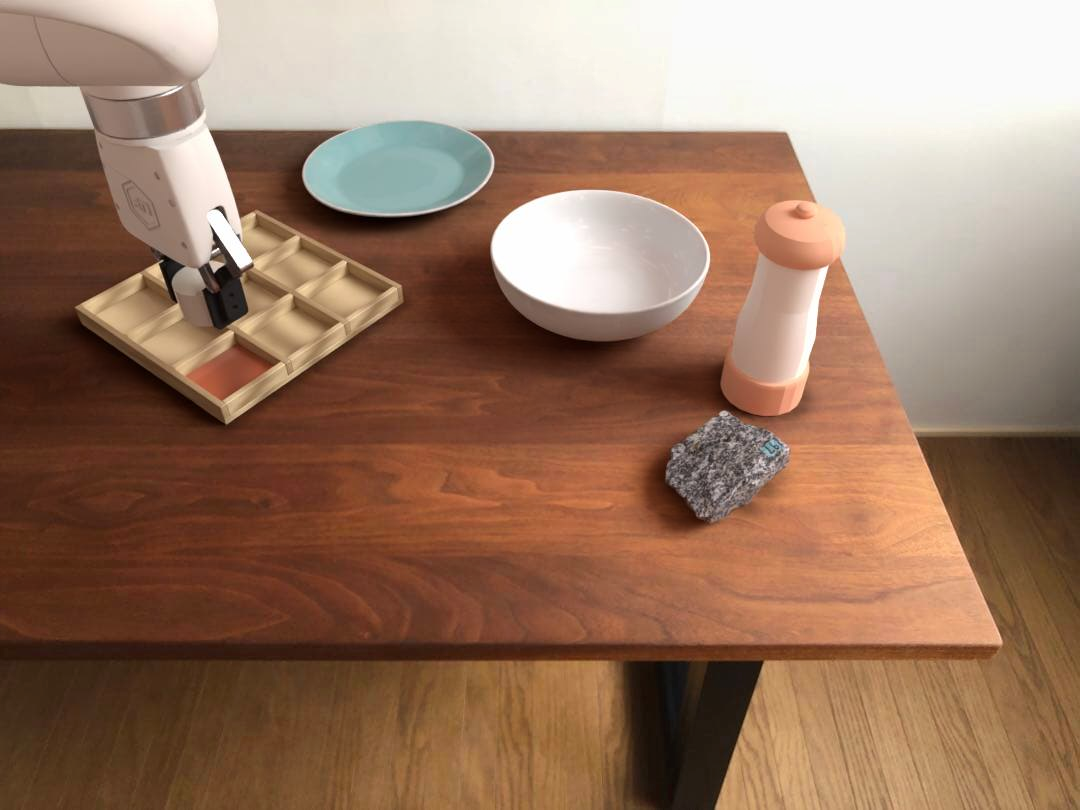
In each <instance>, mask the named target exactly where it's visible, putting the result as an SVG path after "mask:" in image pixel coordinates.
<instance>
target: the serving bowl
mask: <svg viewBox="0 0 1080 810" xmlns="http://www.w3.org/2000/svg"><path fill="white" fill-rule="evenodd" d="M489 248H490V250H489V252H490V259H491V264H492V269H493V272H494V273H493V274H494V275H495V279H496V281H497V283H498V286H499V288H500V290H501V291H502V294H503V295H504V296H505V298H506V299H507V301H508V302H509V303H510V304H511V306H513V308H515V310H517V312H518V313H520V314H521V316H524V317H525V318H526V319H527V320H529V321H530V322H532V323H534V324H535V325H537V326H539V327H541V328H543V329H545V330H547V331H549V332H552V333H554V334H557V335H560V336H563V337H568V338H570V339H575V340H581V341H589V342H617V341H624V340H631V339H635V338H639V337H642V336H644V335H648V334H651V333H653V332H655V331H658V330H659V329H661V328H663V327H665V326H666V325H667V326H668V325H669V324H670V323H671V322H673V321H674V320H676V319H677V318H679V316H680V315H682V314H683V313H684V312H686V310H687V309H688V308H689V307H690V306H691V304H692V303H693V302H694V300H695V299H696V298H697V296H698V295H699V292H700V291H701V289H702V286H703V285H704V282H705V279H706V277H707V274H708V272H709V268H710V265H711V253H710V248H709V244H708V242H707V240H706V238H705V236H704V235H703V233H702V232H701V231H700V230H699V228H698V227H697V226H696V225H695V224H694V223H693V222H692V221H691V220H689V218H687V217H685V216H684V215H683V214H682V213H680V212H679V211H677V210H675V209H673V208H671V207H670V206H667V205H665V204H663V203H661V202H659V201H656V200H654V199H652V198H648V197H644V196H641V195H636V194H633V193H628V192H623V191H617V190H616V191H615V190H606V189H605V190H604V189H577V190H575V189H574V190H567V191H561V192H556V193H552V194H548V195H547V194H546V195H543V196H541V197H538V198H535V199H532V200H530V201H528V202H525V203H523V204H522V205H520V206H518V207H516V208H515V209H514V210H512V211H511V212H510V213H508V214H507V215H506V216H504V218H503V219H502V220H501V221H500V222H499V224H498V225H497V226H496V228H495V229H494V231H493V234H492V236H491V239H490V246H489Z"/></svg>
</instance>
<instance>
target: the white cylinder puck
mask: <svg viewBox="0 0 1080 810" xmlns="http://www.w3.org/2000/svg"><path fill="white" fill-rule="evenodd" d="M209 264H210V266H211V268H212V270H213V272H214V273H215V272H216V271H217V269H218V268H220V267H222V266H223V265H225V264H224V263H221V262H216V261H209ZM172 287H173V290H174V293H175V296H176V299H177V301H178V304H179V307H180V310H181V313H182V316H183V318H184V319H185V321H187V322H188V323H190V324H192V325H195V326H200V327H209V326H213V323H212V320H211V317H210V314H209V311H208V308H207V305H206V301H205V298H204V295H203V292H202V290H203V289H204V288H206V285H205V283H204V281H203V279H202V277H201V275H200V273H199V270H198V269H194V268H190V267H187V266H186V267H184V268H182V269H181V270H179V271H178V272H177V273H176V274H175V275H174V277H173V279H172Z"/></svg>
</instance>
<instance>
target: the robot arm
mask: <svg viewBox="0 0 1080 810" xmlns="http://www.w3.org/2000/svg"><path fill="white" fill-rule="evenodd" d="M219 29H220V28H219V16H218V12H217V6H216V3H215V0H0V84H1V85H5V86H15V87H28V88H29V87H43V88H44V87H48V88H49V87H50V88H51V87H55V88H57V87H58V88H59V87H61V88H62V87H63V88H65V87H66V88H67V87H69V88H70V87H71V88H74V87H75V88H77V87H79V91H80V93H81V96H82V98H83V101H84V105H85V107H86V110H87V113H88V116H89V117H90V121H91V123H92V126H93V131H94V135H95V141H96V145H97V149H98V154H99V158H100V162H101V165H102V168H103V172H104V175H105V179H106V181H107V185H108V188H109V191H110V194H111V197H112V200H113V204H114V206H115V209H116V212H117V215H118V219H119V220H120V223H121V225H122V226H123V228H124V229H125V230H126V231H128V233H130V234H131V235H132V236H134V237H135V238H136V239H138V240H139V241H141V242H143V243H144V244H146V245H148V246H150V251H151V253H152V256H153V257H154V258H155V259H156V260H157V261H158V262H160V261H162V260H163V262H161V263H159V266H160V269H161V272H162V275H163V278H164V280H165V283H166V286H167V289H168V292H169V295H170V298H171V300H172V301H174V302H176V303H178V301H177V299H176V296H175V293H174V290H173V287H172V279H173V277H174V275H175V274H176V273H177V272H178V271H179V270H181V269H182V268H184V267H186V266H187V267H190V268H194V269H198V270H199V273H200V275H201V277H202V279H203V281H204V283H205V285H206V288H204V289H203V290H202V292H203V295H204V298H205V301H206V305H207V308H208V311H209V314H210V317H211V320H212V323H213V326H214V327H215V328H217V329H218V330H222V329H223V328H225V327H227V326H228V325H230V324H232V323H233V322H235V321H236V320H238V319H240V318H241V317H243V316H244V315H246V314H247V313H248V311H249V309H248V305H247V301H246V298H245V294H244V291H243V287H242V283H241V280H240V278H241V277H243V273H245V272H246V271H248V270H250V269H252V268H253V267H254V263H253V261H252V259H251V258H250V256H249V255H248V253H247V252H246V250H245V249H244V247H243V246H242V244H241V243H242V239H243V234H242V227H241V222H240V218H241V217H240V214H239V210H238V206H237V204H236V199H235V196H234V193H233V190H232V188H231V183H230V181H229V178H228V176H227V172H226V169H225V167H224V164H223V161H222V159H221V156H220V152H219V151H218V148H217V146H216V144H215V143H216V142H215V141H214V138H213V136H212V134H211V132H210V129H209V126H208V124H206V122H205V121H206V118H207V110H206V105H205V102H204V99H203V95H202V92H201V87H200V84H199V81H198V80H199V79H200V78H201V77H202V76H203V75H204V74H205V73H206V72H207V71H208V70H209V68H210V66H211V65H212V63H213V61H214V58H215V55H216V53H217V49H218V44H219V31H220V30H219ZM213 241H214V242H215V244H213V245H212V243H213ZM220 255H221V257H222V259H223V261H224V264H225V265H223V266H222V267H220V268H218V269H217V271H216V272H215V273H214V272H213V270H212V268H211V266H210V264H209V261H211V260H212V259H214V258H216V257H218V256H220Z"/></svg>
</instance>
